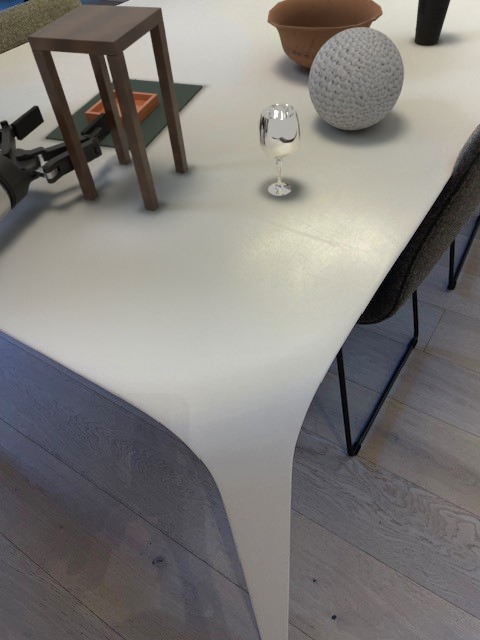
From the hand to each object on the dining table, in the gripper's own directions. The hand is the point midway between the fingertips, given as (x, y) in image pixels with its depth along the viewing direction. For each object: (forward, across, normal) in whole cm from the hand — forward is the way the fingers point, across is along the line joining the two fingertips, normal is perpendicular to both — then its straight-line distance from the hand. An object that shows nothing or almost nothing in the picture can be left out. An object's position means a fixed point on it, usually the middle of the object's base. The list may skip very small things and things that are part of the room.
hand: (72, 117), depth 81 cm
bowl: (+41, -33, +6) cm, 53 cm away
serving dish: (+7, -1, +6) cm, 9 cm away
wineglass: (-4, -37, +6) cm, 37 cm away
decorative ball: (+18, -43, +6) cm, 47 cm away
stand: (-7, -15, +6) cm, 17 cm away
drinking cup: (+58, -52, +6) cm, 78 cm away
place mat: (+15, -1, +6) cm, 16 cm away
